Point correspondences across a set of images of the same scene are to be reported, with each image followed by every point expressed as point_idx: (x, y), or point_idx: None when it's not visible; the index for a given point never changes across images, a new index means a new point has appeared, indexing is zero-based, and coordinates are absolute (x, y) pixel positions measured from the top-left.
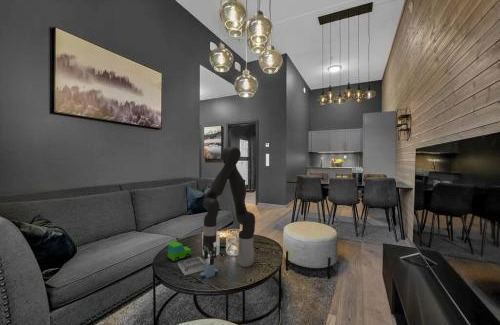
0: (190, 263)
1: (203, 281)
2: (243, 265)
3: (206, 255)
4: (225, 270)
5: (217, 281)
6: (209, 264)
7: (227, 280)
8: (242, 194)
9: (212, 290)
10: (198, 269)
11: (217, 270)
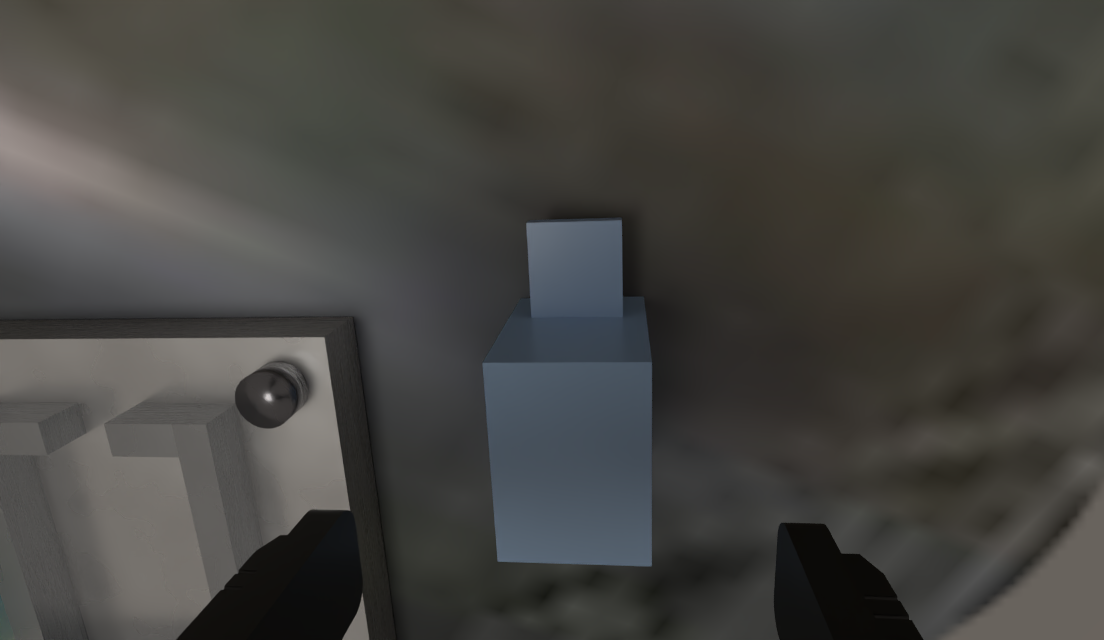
0: (124, 574)
1: (717, 525)
2: None
3: (311, 617)
4: (574, 6)
5: (867, 332)
6: (504, 442)
7: (966, 145)
8: None
9: (1060, 507)
10: (361, 508)
11: (617, 238)
